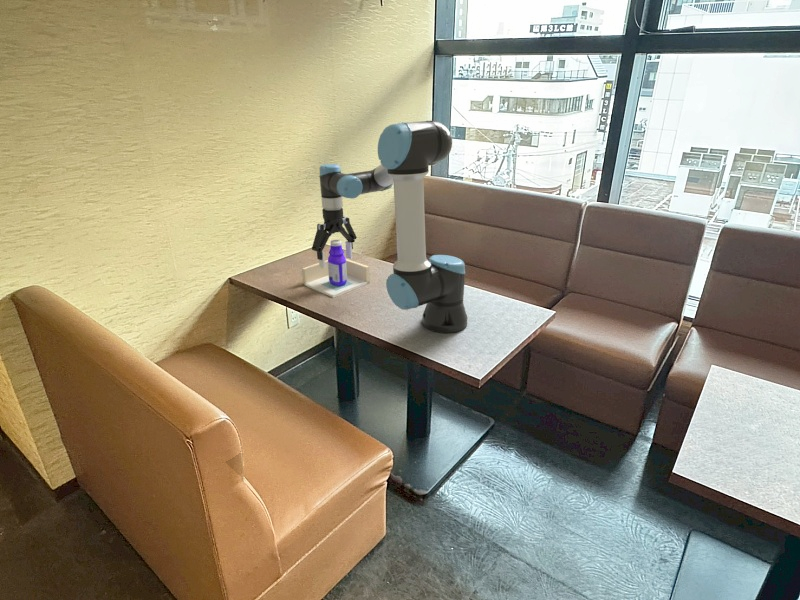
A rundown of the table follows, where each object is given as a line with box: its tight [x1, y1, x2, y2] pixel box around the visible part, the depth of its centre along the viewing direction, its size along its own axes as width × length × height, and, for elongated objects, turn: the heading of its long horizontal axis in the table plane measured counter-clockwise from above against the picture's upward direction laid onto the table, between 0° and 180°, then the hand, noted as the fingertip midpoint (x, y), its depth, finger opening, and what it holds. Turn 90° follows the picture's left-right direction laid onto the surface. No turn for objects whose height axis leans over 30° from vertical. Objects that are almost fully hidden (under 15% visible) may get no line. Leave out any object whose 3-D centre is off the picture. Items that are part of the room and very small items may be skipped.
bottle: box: [327, 239, 347, 286], centre depth 194 cm, size 7×6×17 cm
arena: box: [301, 257, 370, 299], centre depth 198 cm, size 18×19×7 cm
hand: (336, 262), depth 193 cm, fingers open, 13 cm apart
